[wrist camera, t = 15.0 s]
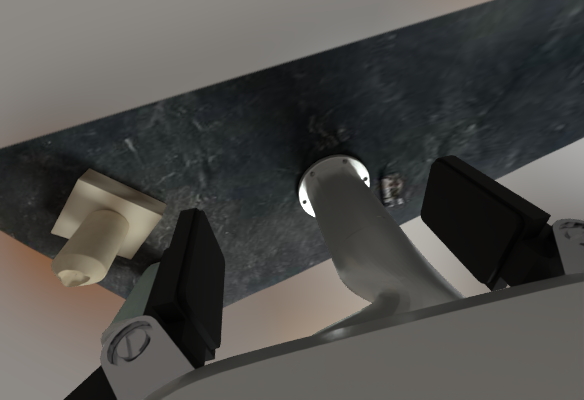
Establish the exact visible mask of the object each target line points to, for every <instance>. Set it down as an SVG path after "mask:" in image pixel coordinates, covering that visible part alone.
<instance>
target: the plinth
mask: <svg viewBox="0 0 584 400" xmlns="http://www.w3.org/2000/svg"><path fill="white" fill-rule="evenodd" d="M166 205H167V204H165V203H163V202H161V201H158V200H156V199H154V198H152V197H150V196H148V195H145V194H143V193H141V192H139V191H137V190H135V189H133V188H130V187H128V186H126V185H124V184H122V183H120V182H118V181H115V180H113V179H111V178H109V177H107V176H105V175H103V174H100V173H98V172H96V171H94V170H92V169H90V168H89V169H88V170H87V171H86V172H85V173H84V174H83V175H82V176H81V177H80V178H79V179H78V181H77V183H76V185H75V187H74V189H73V190H72V192H71V194H70V196H69V198H68V200H67V202H66V204H65V206H64V208H63V210H62V212H61V214H60V216H59V218H58V220H57V222H56V224H55V226H54V228H53V230H52V232H51V233H53V234H56V235H59V236H62V237H65V238H68V239H70V238H71V237H72V235H73V234H74V233H75V231H76V230H77V229H78V228H79V226H80V225H81V224H82V222H83V221H84V220H85V219H86V218H87V216H88V215H89V214H91V213H92V212H94V211H97V210H110V211H114V212H117V213H119V214H120V215H122V216H123V217H124V218H125V219H126V220H127V221H128V223H129V231H128V233H127V235H126V237H125V239H124V241H123V243H122V245H121V247H120V249H119V251H118V253H117V255H119V256H122V257H125V258H128V259H132V257H133V256H134V254H135V253H136V252H137V250H138V249H139V248H140V246H141V245H142V243H143V242H144V241H145V239H146V238H147V236H148V235H149V234H150V232H151V231H152V230H153V228H154V227H155V225H156V224H157V223H158V221H159V220H160V219H161V217H162V216H163V213H164V210H165V208H166Z"/></svg>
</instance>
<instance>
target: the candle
mask: <svg viewBox="0 0 584 400" xmlns="http://www.w3.org/2000/svg"><path fill="white" fill-rule="evenodd" d="M128 231H129V223H128V221H127V220H126V219H125V218H124V217H123V216H122V215H120V214H119V213H117V212H114V211H110V210H97V211H94V212H92V213H91V214H89V215H88V216H87V218H86V219H85V220H84V221H83V222H82V224H81V225H80V226H79V228H78V229H77V230H76V231H75V233H74V234H73V235H72V237H71V238H70V239H69V240H68V242H67V243H66V244H65V246H64V247H63V248H62V249H61V251H60V252H59V253H58V255H57V256H56V257H55V258H54V260H53V261H52V263H51V267H52V270H53V272H54V274H55V275H56V276H57V277H58V278H59V279H60V281H61V282H62V283H63V285H64V286H66V287H75V286H81V285H88V284H92V283H96V282H99V281H101V280H102V279H103V278H104V277H105V276H106V274H107V272H108V270H109V268H110V266H111V264H112V262H113V260H114V258H115V256H116V255H117V253H118V251H119V249H120V247H121V245H122V243H123V241H124V239H125V237H126V235H127V233H128Z"/></svg>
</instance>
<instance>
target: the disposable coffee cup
mask: <svg viewBox="0 0 584 400" xmlns="http://www.w3.org/2000/svg"><path fill="white" fill-rule="evenodd" d="M159 264H160V262H158V263H155V264H152V265H150V266H149V267H148V268H147V269H146V270H145V271H144V273H143V274H142V276H141V277H140V279H139V280H138V282H137V284H136V285H135V287H134V288H133V290H132V291H131V293H130V295H129V296H128V298H127V299H126V301H125V303H124V304H123V306H122V307H121V309H120V310H119V312H118V314H117V315H116V317H115V318H114V320H113V321H112V323H111V324H110V326H109V327H108V328H107V329H106V330H105V331H104V332H103V333H102V334H103V335H102V338H101V343H102V347H104V345H105V343H106V341H107V340H108V338H109V337H110V336H111V334H112V333H113V332H114V331H115V330H116V329H117V328H118V327H120V326H121V325H122V324H124V323H125V322H127V321H128V320H130V319H133V318H135V317H138V316H143V313H144V310H145V307H146V304H147V301H148V298H149V294H150V291H151V288H152V285H153V282H154V279H155V276H156V273H157V270H158V267H159Z"/></svg>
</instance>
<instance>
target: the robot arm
mask: <svg viewBox="0 0 584 400" xmlns="http://www.w3.org/2000/svg"><path fill="white" fill-rule="evenodd" d="M369 185H370V178H369V173H368V171H367V169H366V167H365V166H364V165H363V164H362V163H361V162H360V161H359V160H358V159H356V158H354V157H352V156H348V155H340V154H339V155H331V156H328V157H324V158H322V159H320V160H318V161H317V162H315V163H314V164H312V165H311V166H310V167H309V168H308V169H307V170H306V171H305V173H304V174H303V176H302V178H301V180H300V182H299V186H298V197H299V201H300V204H301V206H302V207H303V209H304V210H305V211H306V212H307V213H308V214H310V215H312V216H314V217H316V220H317V222H318V225H319V228H320V230H321V233H322V235H323V238H324V240H325V243H326V245H327V248H328V251H329V253H330V256H331V258H332V261H333V263H334V266H335V268H336V270H337V273H338V275H339V277H340V279H341V280H342V282H343V283H344V284H345V285H346V286H347V288H349V289H350V290H351V291H352V292H354V293H355V294H356V295H358V296H360V297H362V298H363V299H365V300H367V301H369V302H371V303H372V304H370V305H369V306H367V307H365V308H363V309H362V310H361V311H358V312H356V313H354V314H352V315H350V316H348V317H346V318H344V319H342V320H340V321H338V322H336V323H334V324H332V325H330V326H328V327H326V328H324V329H322V330H320V331H318V332H317V333H315V334H313V335H312V336H309V337H305V338H301V339H297V340H293V341H289V342H285V343H281V344H278V345H274V346H270V347H266V348H262V349H259V350H255V351H252V352H248V353H244V354H241V355H237V356H233V357H230V358H227V359H223V360H220V361H217V362H214V363H211V364H208V365H205V366H204V364H205V361H209V360H213V359H215V349H216V348H219V347H220V343H221V326H222V310H223V292H224V275H225V260H224V256H223V254H222V252H221V249H220V247H219V245H218V242H217V240H216V238H215V235H214V233H213V231H212V229H211V226H210V224H209V222H208V219H207V217H206V215H205V213H204V211H203V210H202V211H199V210H198V209H197V208H193V209H188V210H183V211H181V212H180V215H179V218H178V221H177V225H176V228H175V231H174V234H173V238H172V241H171V244H170V247H169V248H167V249H166V250H164V253H163V255H162V258H161V261H160V264H159V267H158V270H157V273H156V276H155V279H154V282H153V285H152V288H151V291H150V294H149V298H148V301H147V304H146V307H145V310H144V313H143V316H138V317H135V318H133V319H130V320H128V321H127V322H125V323H124V324H122V325H121V326H120V327H118V328H117V329H116V330H115V331H114V332H113V333H112V334H111V336H110V337H109V338H108V340H107V341H106V343H105V345H104V347H103V349H102V352H101V358H100V360H101V366H100V367H99V368H98V369H96V371H94V372H93V373H92V374H91V375H90V376H89V377H88V378H87V379H86V380H84V381H83V382H82V384H80V385H79V386H78V387H77V388H76V389H75V390H74V391H72V392H71V393H70V394H69V395H68V396H67V397H66V398H65V399H64V400H584V221H582V220H576V219H561V220H558V221H556V222H555V223H554V224H553V225H552V226H550V225H549V224H547V221H548V220H549V217H550V216H551V215H550V214H548V213H546V212H545V211H543V210H541V209H540V208H538V207H537V206H535V205H533V204H532V203H530V202H528V201H527V200H525V199H524V198H522V197H520V196H519V195H517V194H515V193H514V192H512V191H511V190H509V189H508V188H506V187H504V186H503V185H501V184H499V183H498V182H496V181H495V180H493V179H491V178H490V177H488V176H486V175H485V174H483V173H482V172H480V171H478V170H477V169H475V168H474V167H472V166H470V165H469V164H467V163H465V162H464V161H462V160H461V159H459V158H457V157H456V156H453V155H450V156H445V157H441V158H437V159H436V160H435V162H434V163H433V164H432V165H431V169H430V174H429V178H428V182H427V187H426V191H425V196H424V200H423V205H422V209H421V218H422V220H423V222H424V223H425V224H426V225H427V226H428V227H429V228H430V229H431V230H432V231H433V232H434V234H436V236H437V237H438V238H439V239H440V240H441V241H442V242H443V243H444V244H445V245H446V246H447V248H448V249H449V250H450V251H451V252H452V253H453V254H454V255H455V256H456V257H457V258H458V259H459V261H460V262H461V263H462V264H463V265H464V266H465V267H466V268H467V269H468V270H469V271H470V272H471V273H472V274H473V276H474V277H475V278H476V279H477V280H478V281H479V282H481V283H483V284H485V285H486V286H487V287H488V288H489V289H490V290H491V291H493V292H489V293H484V294H480V295H476V296H472V297H468V298H465V297H464V296H463V295H462V294H461V293H460V292H459V291H458V290H457V289H456V288H454V287H453V286H452V285H451V284H450V283H449V282H448V281H447V280H446V279H445V278H444V277H443V276H442V275H441V274H440V273H439V272H438V271H437V270H436V269H435V268H434V267H433V266H432V265H431V264H430V263H429V262H428V261H427V260H426V258H425V257H424V256H423V255H422V254H421V253H420V251H419V250H418V249H417V248H416V247H415V245H414V244H413V243H412V242H411V240H410V239H409V238H408V237H407V235H406V234H405V233H404V232H403V231H402V229H401V228H400V227H399V225H398V224H397V223H396V221H395V220H394V219H393V218H392V216H391V215H390V214H389V213H388V211H387V210H386V209H385V207H384V206H383V205H382V204H381V202H380V201H379V200H378V199H377V197H376V196H375V195H374V193H373V192H372V191H371V190H370V188H369ZM507 284H508V285H509V286H510V288H506V286H507ZM504 288H505V289H504ZM500 289H501V290H500ZM496 290H497V291H496Z"/></svg>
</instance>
